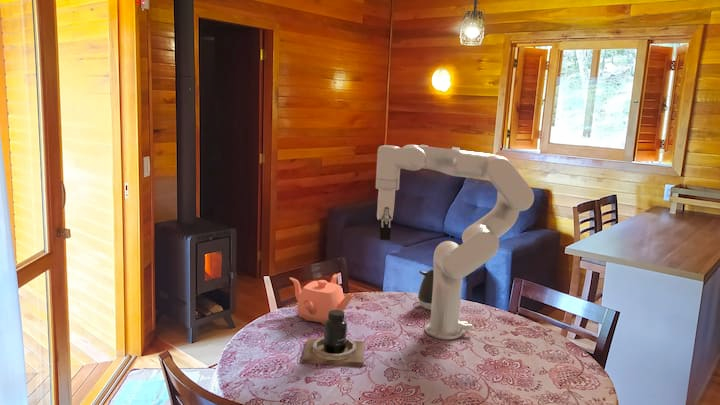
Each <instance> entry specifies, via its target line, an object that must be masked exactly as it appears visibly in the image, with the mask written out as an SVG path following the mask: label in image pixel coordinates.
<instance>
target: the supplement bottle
mask: <svg viewBox="0 0 720 405" xmlns="http://www.w3.org/2000/svg"><path fill="white" fill-rule="evenodd" d="M323 330H324V331H323V332H324V333H323V337H324V350H325V351H326V352H328V353H331V354H340V353H342V352H344V351H345V349H346V338H347V334H348V323H347V322H346V320H345V311H344V312H343V311H341V310H331V311H329V315H328V320H326V322H325V325H324V329H323Z"/></svg>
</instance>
